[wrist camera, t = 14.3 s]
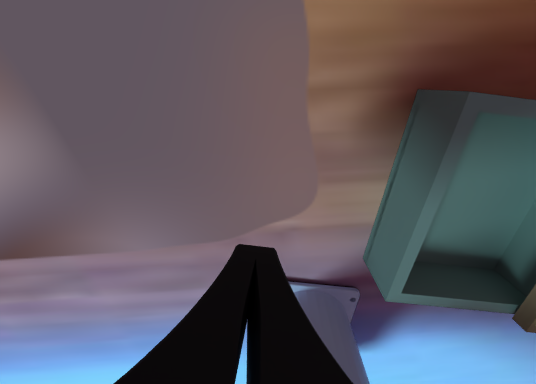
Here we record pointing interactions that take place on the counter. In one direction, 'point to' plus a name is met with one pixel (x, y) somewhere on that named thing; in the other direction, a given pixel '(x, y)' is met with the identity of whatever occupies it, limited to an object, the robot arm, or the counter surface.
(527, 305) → the lid
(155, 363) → the robot arm
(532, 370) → the counter surface
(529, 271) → the teal shallow tray
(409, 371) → the counter surface
